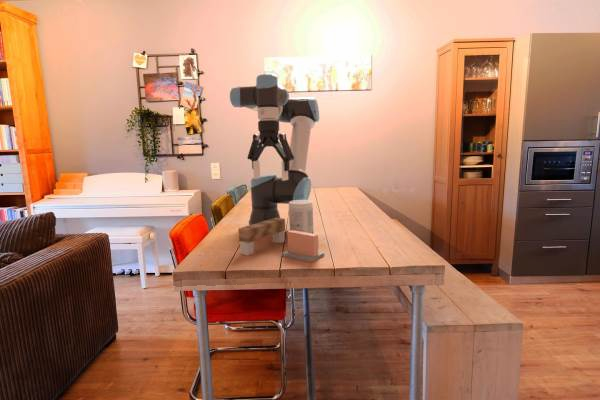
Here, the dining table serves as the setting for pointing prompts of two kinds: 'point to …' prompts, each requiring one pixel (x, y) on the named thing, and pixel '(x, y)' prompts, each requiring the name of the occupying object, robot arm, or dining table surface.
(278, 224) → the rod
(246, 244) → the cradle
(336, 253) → the dining table surface
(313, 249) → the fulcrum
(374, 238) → the dining table surface
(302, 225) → the supplement tub
